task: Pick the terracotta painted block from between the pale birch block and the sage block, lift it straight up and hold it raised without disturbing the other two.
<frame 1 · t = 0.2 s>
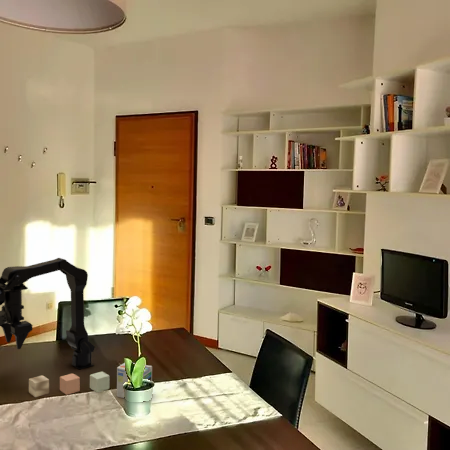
hand: (13, 345, 189), 14 cm above the table, fingers open, 9 cm apart
light bulb box: (134, 396, 184), on the table
birch block: (38, 393, 184), on the table
sage block: (99, 388, 189), on the table
terracotta block: (69, 390, 187), on the table
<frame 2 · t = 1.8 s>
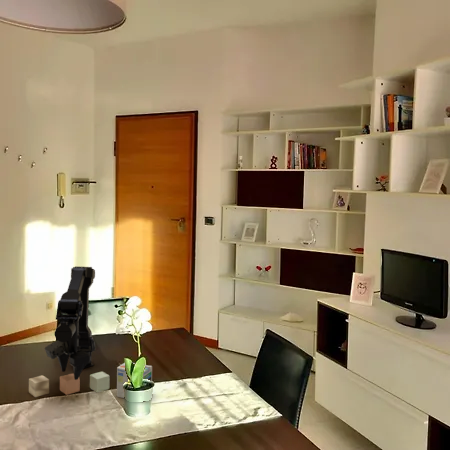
hand: (69, 375, 186), 5 cm above the table, fingers open, 9 cm apart
nothing on the table moved.
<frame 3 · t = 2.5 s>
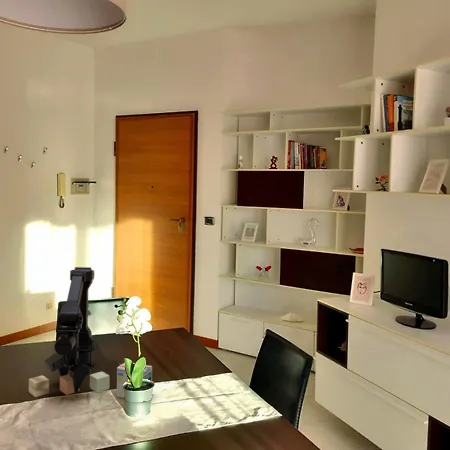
hand: (69, 387, 187), 1 cm above the table, fingers open, 9 cm apart
nothing on the table moved.
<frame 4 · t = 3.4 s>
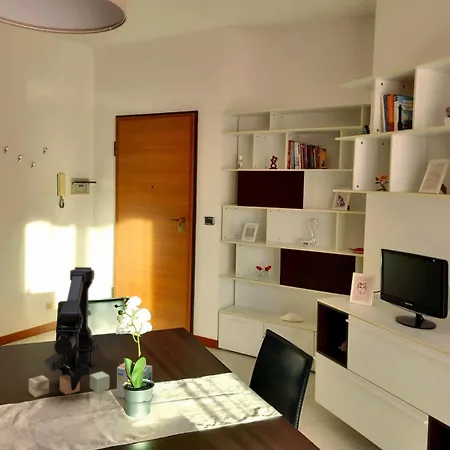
hand: (69, 387, 187), 1 cm above the table, fingers closed on terracotta block, 5 cm apart
terracotta block: (69, 390, 187), on the table, touching gripper
everything else where it was.
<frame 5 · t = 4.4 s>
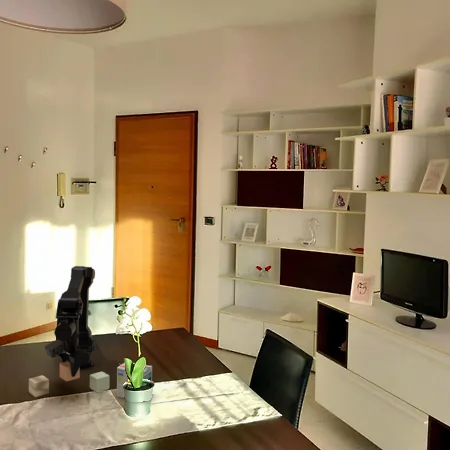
hand: (69, 374, 186), 6 cm above the table, fingers closed on terracotta block, 5 cm apart
terracotta block: (69, 377, 186), point 5 cm above the table, touching gripper
everything else where it was.
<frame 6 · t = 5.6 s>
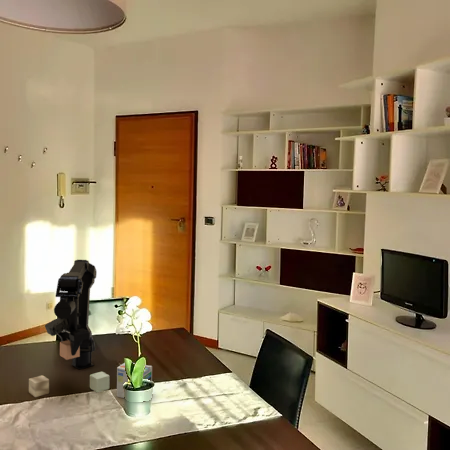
hand: (69, 353, 187), 13 cm above the table, fingers closed on terracotta block, 5 cm apart
terracotta block: (69, 356, 187), point 12 cm above the table, touching gripper
everything else where it was.
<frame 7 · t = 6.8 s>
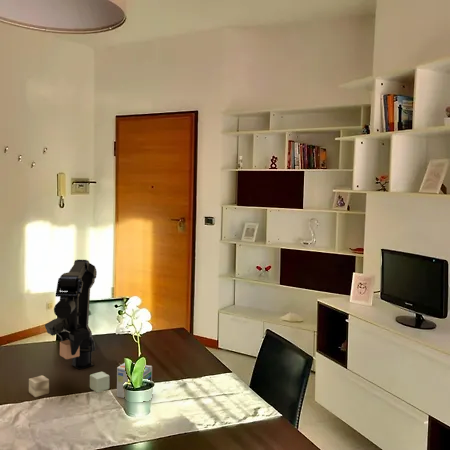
hand: (69, 352, 187), 13 cm above the table, fingers closed on terracotta block, 5 cm apart
terracotta block: (69, 355, 188), point 12 cm above the table, touching gripper
everything else where it was.
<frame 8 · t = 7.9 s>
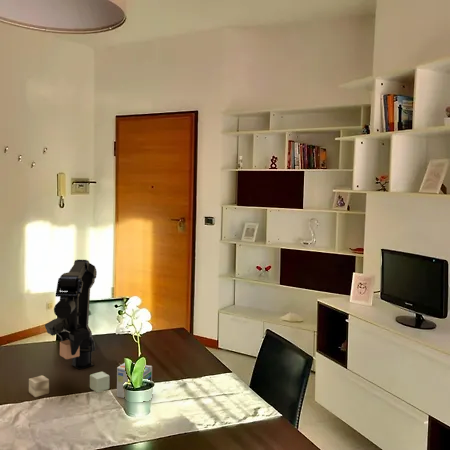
hand: (69, 352, 187), 13 cm above the table, fingers closed on terracotta block, 5 cm apart
terracotta block: (69, 355, 188), point 12 cm above the table, touching gripper
everything else where it was.
at the end: the gripper is holding terracotta block; terracotta block point 11.9 cm above the table; birch block moved 0.1 cm from its start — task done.
